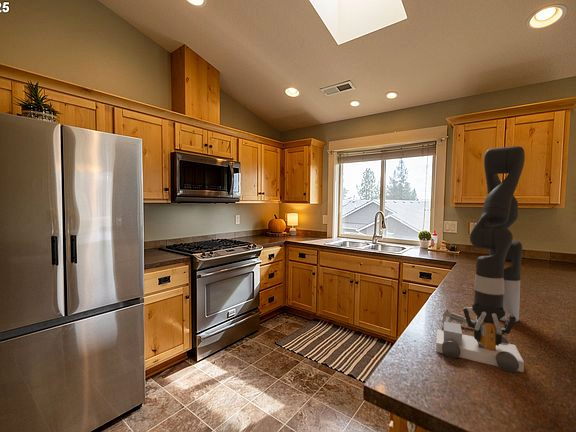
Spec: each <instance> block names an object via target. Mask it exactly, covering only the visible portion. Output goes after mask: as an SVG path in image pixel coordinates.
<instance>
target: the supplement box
mask: <svg viewBox="0 0 576 432" xmlns="http://www.w3.org/2000/svg"><path fill="white" fill-rule="evenodd" d="M479 330H480V342H479V348H483V349H488V350H492V351H496V327H495V324H494V323H491V322H484V321H483V323H482V325H481V326H480V328H479Z"/></svg>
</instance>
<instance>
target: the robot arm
mask: <svg viewBox="0 0 576 432" xmlns="http://www.w3.org/2000/svg"><path fill="white" fill-rule="evenodd" d="M525 157H526V155H525V150H524V148H523V147H522V146H504V147H493V148H489V149H487V150H486V151H485V153H484V157H483V166H484V174H485V180H486V187H487V188H486V189H487V196H486V198H485V199H484V202H483V207H482V211H481V215H480V218H479V219H478V221H477V222H476V224H475V225H474V226H473V228H472V230H471V232H470V235H469V241H470V243H471V245H472V247H475V248H476V249H481V250H482V249H485V250H488V253H489V255H481V256H478V257H476V261H475V278H474V286H473V287H474V289H473V291H474V292H473V296H474V298H473V305H472V306H464V305H463V307H462V310H463V314H464V318H466V321H467V323H466V324H467V327H469V328H472V329H473V337H474V338H475V339H476V340H477V342H480V330H479V328H480V326H481V325H482V323H483V321H484V322H491V323H494V324H495V327H496V345H497V346H499V344H501V343H502V335H509V334H510V333H511V331H512V329H513V326H514V324H515V323H518V322H519V320H520V319H519V318H520V300H521V299H520V297H521V296H520V295H521V267H522V259H523V258H522V256H523V244H522V242H521V241H519V240H513V237H514V235H513V234H512V232H511V230H510V229H509V228H510V227H512V225H513V224H515V222H516V221H517V219H518V216H519V203H518V200H517V198H516V197H515V196H514V194H515V191H516V189H517V186H518V184H519V180H520V178H521V175H522V172H523V170H524V166H525ZM500 174H501V175H504V174H506V177H504V179H503V180H502V181H501V180H500V176H499V175H500ZM505 263H510V265H508V266H505ZM472 312H474V314H475V316H476V317H475V320H474V321H475V323H473V322H471V320H472V319H471V316H470V315H471V314H472ZM499 321H503V322H505V323H504V326H503V327H501V325H500V322H499Z"/></svg>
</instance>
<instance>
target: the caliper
mask: <svg viewBox="0 0 576 432" xmlns="http://www.w3.org/2000/svg"><path fill="white" fill-rule="evenodd" d="M447 317H448V320H447V322H451V323H453V320H454V321H456V322H457V323H459V324H463V323H464V324H465V323H466V324H467V321H466V317H465V316H464V315H460V314H457V313H454V312H452V310H451V309H448V308H446V310H444V311H443V315H442V323H443V324H444V321H445V322H446V319H447ZM475 321H476V320H472V319H471V322H473V323H475Z"/></svg>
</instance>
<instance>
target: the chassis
mask: <svg viewBox="0 0 576 432" xmlns="http://www.w3.org/2000/svg"><path fill="white" fill-rule="evenodd" d="M461 325H462V324H461V323H455V322H448V321H446V320H445V321H444V323H443V326H442V327H441V329H439V328H438V329H436V352H437V353H440V354H444V356H446V357H447V358H450V359H458V358H462V359H465V360H469V361H470V360H471V361H474V362H479V363H482V364H487V365H490V366H491V365H492V366H495V367H499V368H500V369H501V370H502V371H504V372H506V373H513V372H520V373H524V372H525V371H524V370H525V368H524V367H525V361H524V360H523V357H522V355H521V354H520V352H519V349H518V348H517V346H516V345H515V344H511V343H509V341H508V339H507V338H506V336H505V335H504V334H502V343H501V344H499V346H497V345H496V351H492V350H488V349H483V348H479V342H477V340H476V339H475V338H474V335H467V334H463V331H462V326H461Z"/></svg>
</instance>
